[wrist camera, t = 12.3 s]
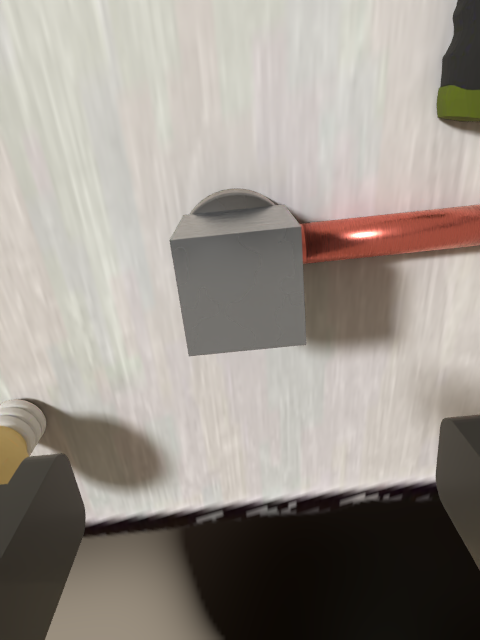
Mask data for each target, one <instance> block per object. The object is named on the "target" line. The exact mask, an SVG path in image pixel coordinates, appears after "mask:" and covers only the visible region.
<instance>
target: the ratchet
mask: <svg viewBox="0 0 480 640" xmlns="http://www.w3.org/2000/svg"><path fill="white" fill-rule="evenodd" d="M275 205H276V204H275V203H273V202H272V201H271V200H270V199H268V198H267V197H265V196H263V195H262V194H260V193H257V192H254V191H251V190H247V189H227V190H222V191H219V192H216V193H214V194H212V195H210V196H208V197H206V198H205V199H203V200H202V201H201V202H200V203H199V204H198V205H197V206H196V207H195V208H194V209H193V210H192V211H191V213H190V214H199V213H209V212H218V211H228V210H237V209H247V208H256V207H266V206H275ZM300 225H301V231H302V255H303V264H307V263H316V262H326V261H336V260H345V259H355V258H364V257H374V256H383V255H393V254H402V253H412V252H421V251H431V250H440V249H450V248H459V247H469V246H478V245H480V205H471V206H462V207H452V208H443V209H434V210H424V211H415V212H406V213H396V214H387V215H378V216H368V217H359V218H350V219H340V220H331V221H322V222H312V223H303V224H300Z"/></svg>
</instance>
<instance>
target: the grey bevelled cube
mask: <svg viewBox="0 0 480 640" xmlns="http://www.w3.org/2000/svg"><path fill="white" fill-rule="evenodd" d="M170 245H171V251H172V257H173V263H174V269H175V275H176V281H177V287H178V294H179V300H180V306H181V312H182V318H183V324H184V330H185V336H186V342H187V348H188V354H189V356H196V355H207V354H217V353H227V352H237V351H247V350H257V349H267V348H277V347H287V346H297V345H306V325H305V301H304V278H303V255H302V231H301V225H300V224H299V223H298V222H297V220H296V219H295V218H294V216H293V215H292V214H291V212H290V211H289V210H288V209H287V207H286V206H285V205H275V206H266V207H256V208H247V209H237V210H228V211H218V212H209V213H199V214H190V215H183V217H182V219H181V221H180V223H179V224H178V226H177V228H176V230H175V232H174V233H173V235H172V237H171V239H170Z"/></svg>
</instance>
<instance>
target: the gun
mask: <svg viewBox="0 0 480 640" xmlns="http://www.w3.org/2000/svg"><path fill="white" fill-rule="evenodd" d="M453 23H454V36H453V39H452V42H451V44H450V46H449V48H448V50H447V52H446V54H445V55H444V56H443V59H442V76H441V88H439V91H438V96H437V115H438V118H441V119H451V120H456V121H480V0H458V2H457V6H456V9H455V11H454V14H453Z"/></svg>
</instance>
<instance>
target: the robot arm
mask: <svg viewBox="0 0 480 640" xmlns="http://www.w3.org/2000/svg"><path fill="white" fill-rule="evenodd" d="M436 484H437V489H438V493H439V496H440V499H441V502H442V504H443V506H444V508H445V510H446V511H447V513H448V515H449V517H450V518H451V520H452V522H453V524H454V525H455V527H456V529H457V531H458V532H459V534H460V536H461V538H462V539H463V541H464V543H465V545H466V547H467V548H468V550H469V552H470V554H471V555H472V557H473V559H474V561H475V563H476V564H477V566H478V568H479V570H480V415H472V416H461V417H451V418H444V419H443V420H442V422H441V427H440V436H439V446H438V457H437V467H436ZM84 529H85V507H84V504H83V501H82V498H81V495H80V492H79V489H78V486H77V483H76V480H75V477H74V474H73V471H72V468H71V465H70V462H69V459H68V457H67V456H66V455H65V454H52V455H42V456H31V457H27V458H25V459H24V460H23V461H22V462H21V464H20V465H19V467H18V468H17V470H16V471H15V473H14V474H13V476H12V478H11V479H10V481H9V482H8V484H1V485H0V640H45V637H46V635H47V632H48V629H49V626H50V624H51V621H52V619H53V616H54V613H55V611H56V608H57V605H58V602H59V600H60V597H61V594H62V592H63V589H64V586H65V583H66V581H67V578H68V575H69V572H70V570H71V567H72V565H73V562H74V559H75V556H76V554H77V551H78V548H79V545H80V543H81V540H82V537H83V534H84Z"/></svg>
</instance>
